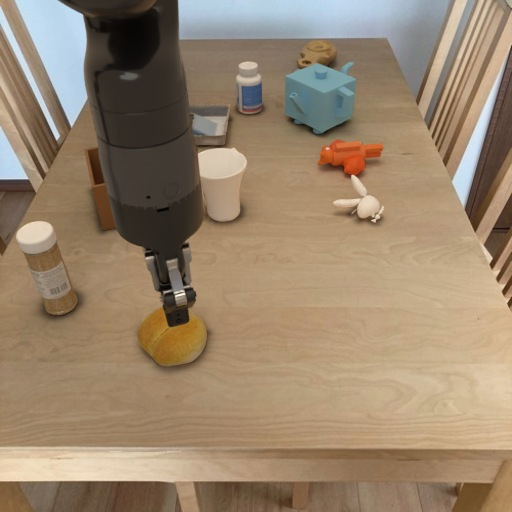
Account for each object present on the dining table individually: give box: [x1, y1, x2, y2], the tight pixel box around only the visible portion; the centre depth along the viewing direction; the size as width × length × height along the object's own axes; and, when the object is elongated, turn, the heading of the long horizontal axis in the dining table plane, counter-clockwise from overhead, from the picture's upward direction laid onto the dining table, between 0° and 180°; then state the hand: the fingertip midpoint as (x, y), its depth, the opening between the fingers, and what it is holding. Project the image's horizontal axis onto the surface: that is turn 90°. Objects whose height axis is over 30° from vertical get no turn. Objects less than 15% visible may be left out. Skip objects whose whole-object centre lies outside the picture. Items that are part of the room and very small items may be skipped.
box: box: [83, 146, 116, 231], centre depth 93 cm, size 12×12×8 cm
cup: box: [198, 147, 248, 223], centre depth 90 cm, size 9×9×10 cm
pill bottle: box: [235, 61, 263, 115], centre depth 117 cm, size 6×5×10 cm
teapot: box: [284, 61, 358, 135], centre depth 112 cm, size 16×18×11 cm
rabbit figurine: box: [332, 174, 385, 224], centre depth 91 cm, size 6×4×8 cm
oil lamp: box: [296, 39, 338, 69], centre depth 134 cm, size 11×14×5 cm
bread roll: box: [137, 306, 208, 367], centre depth 71 cm, size 8×9×4 cm
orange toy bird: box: [317, 138, 384, 176], centre depth 101 cm, size 5×8×12 cm
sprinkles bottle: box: [15, 220, 79, 316], centre depth 73 cm, size 5×5×13 cm
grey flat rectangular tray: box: [189, 103, 232, 146], centre depth 113 cm, size 13×25×3 cm, turn 89°
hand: (177, 320), depth 56 cm, fingers closed
